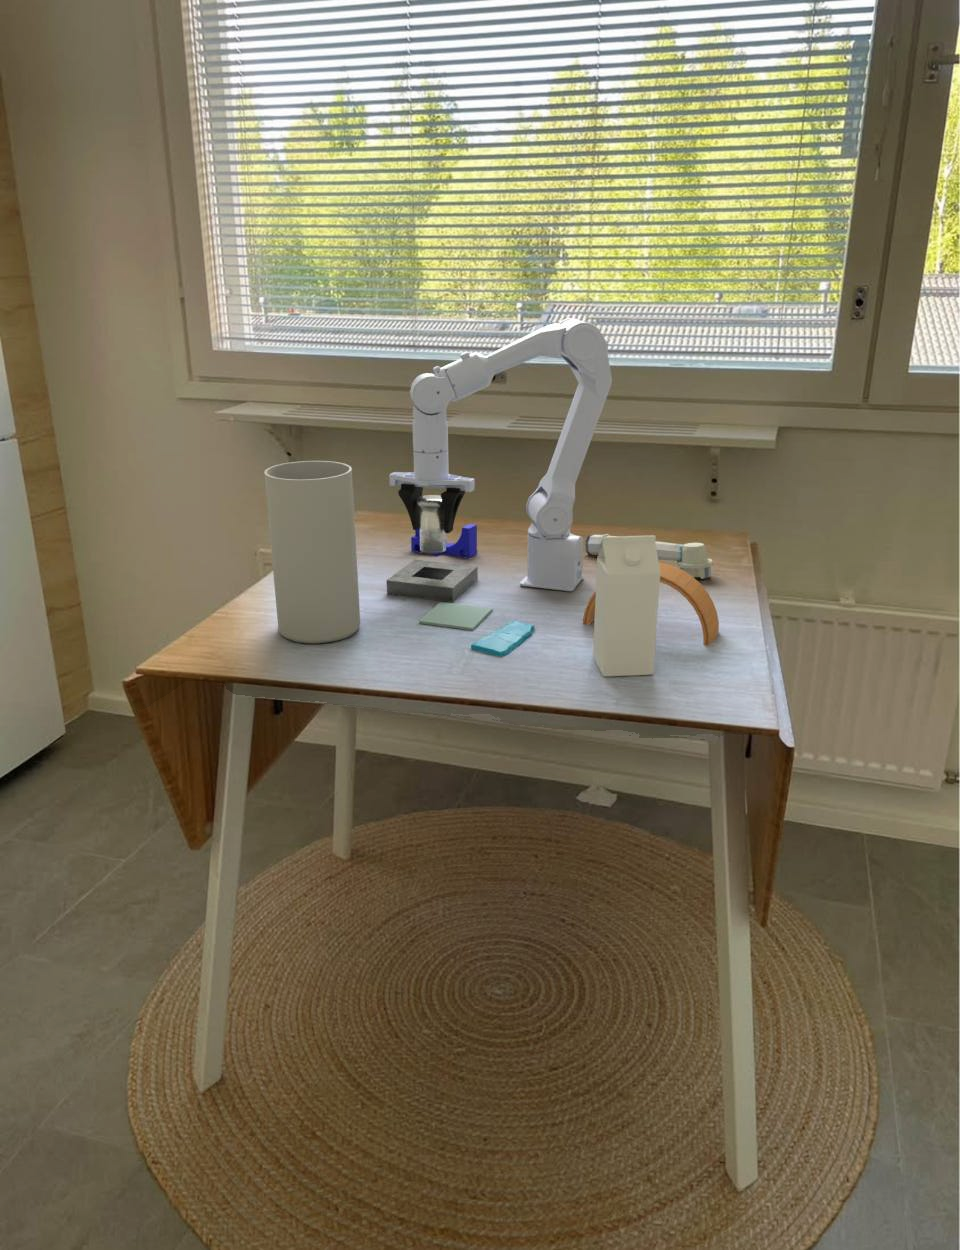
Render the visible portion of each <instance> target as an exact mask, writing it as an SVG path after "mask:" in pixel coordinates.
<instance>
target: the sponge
mask: <svg viewBox="0 0 960 1250" xmlns="http://www.w3.org/2000/svg"><path fill="white" fill-rule="evenodd" d="M533 630H535V624H532V623H528V622H522V621H519V620H511V621H509V622H507V623H506V624H505V625H503V626H501V627H500V628H497V629H496V630H493V632H490V633H489V634H487V635H485V636H483V637H482V638H480V639H478V640H476V641H475V642H473V643H472V644H471V645H470V649H472V650H475V651H477V650H478V651H479V652H481V653H485V654H489V655H493V654H494V655H493V656H497V657H503V656H507V655H509V654H510V653H511V652H512V651H514V650H515V649H516V648H517V647H519V646H520V645H521V644H523V642H524V641H525V640H526V639H527V638H529V637H531V636H532V633H533V632H534V631H533ZM502 655H503V656H502Z"/></svg>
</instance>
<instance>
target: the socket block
mask: <svg viewBox="0 0 960 1250" xmlns="http://www.w3.org/2000/svg"><path fill="white" fill-rule="evenodd" d="M478 568H479V567H478V566H477V565H469V564H459V563H452V562H451V563H450V562H440V561H433V560H432V561H430V560H422V559H414V560H413V561H411V562H409V563H408V564H407V565H406V566H404V567H402V569H400V570H399V571H397V572H396V573H394V574H393V575H391V576H390V577H389V578H387V579H386V580H385V581H386V594H387V595H390V594H394V595H393V596H398V595H400V596H399V597H406V598H415V599H423V600H424V599H425V600H431V601H440V602H445V603H454V602H455V601H456V600H457V599H458V598H459V597H460V596H462V595H463V594H464V593H465V592H466V591H467V590H468V589H469V588H470V587H472V586H473V585H474V584H475V583H476V582H477V581H478V580H479V579H478V574H479V573H478V570H479V569H478Z"/></svg>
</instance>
